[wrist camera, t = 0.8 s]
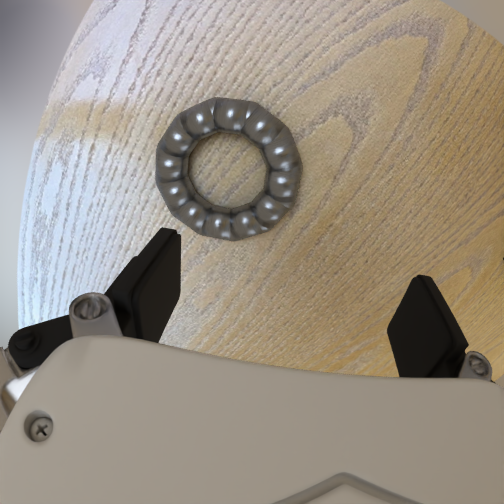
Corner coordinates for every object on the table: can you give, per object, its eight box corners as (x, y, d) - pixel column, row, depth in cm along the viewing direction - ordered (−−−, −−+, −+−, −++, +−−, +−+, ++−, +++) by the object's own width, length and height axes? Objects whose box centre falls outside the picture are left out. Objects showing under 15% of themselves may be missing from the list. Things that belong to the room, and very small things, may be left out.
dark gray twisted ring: (168, 93, 22) (154, 94, 20) (312, 111, 22) (315, 113, 19) (161, 219, 28) (150, 232, 26) (285, 241, 28) (284, 257, 25)
